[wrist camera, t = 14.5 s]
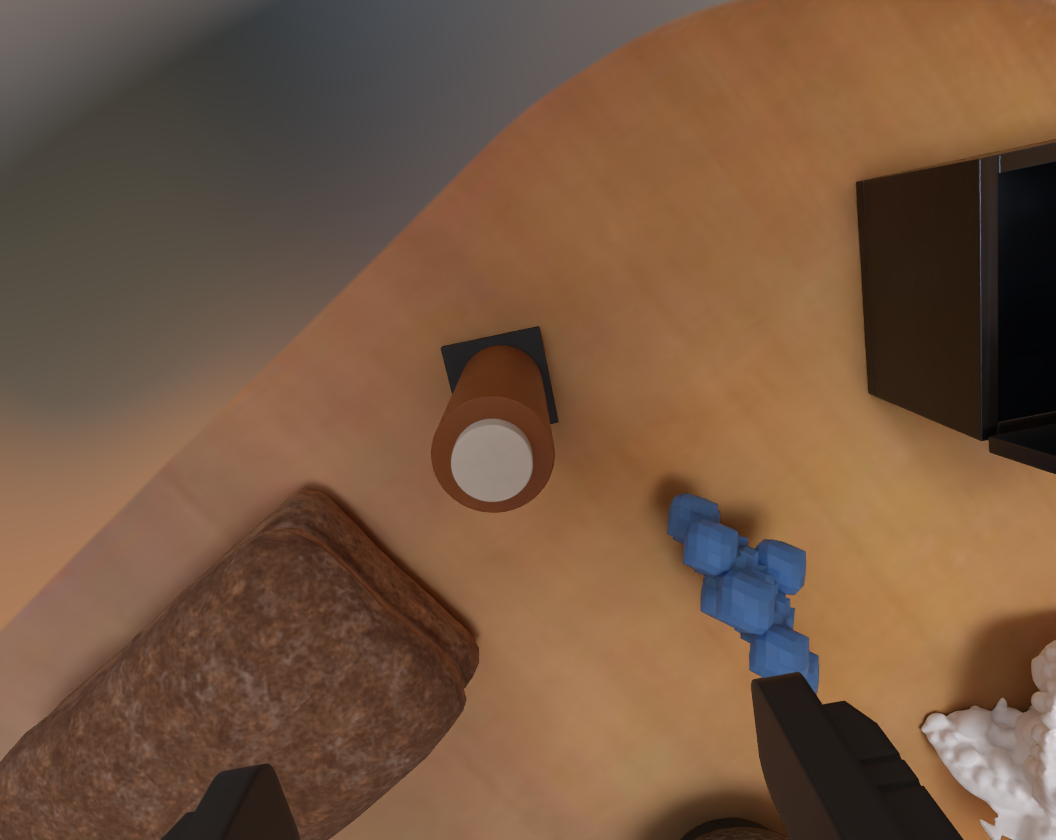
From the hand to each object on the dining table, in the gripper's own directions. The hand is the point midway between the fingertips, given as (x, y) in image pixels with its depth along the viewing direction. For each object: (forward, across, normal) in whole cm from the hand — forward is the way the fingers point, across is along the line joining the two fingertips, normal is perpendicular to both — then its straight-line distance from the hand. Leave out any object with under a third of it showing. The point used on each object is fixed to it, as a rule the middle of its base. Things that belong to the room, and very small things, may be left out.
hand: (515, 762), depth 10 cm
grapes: (+29, -11, +13) cm, 34 cm away
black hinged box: (+29, -27, -1) cm, 40 cm away
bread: (+29, +22, +17) cm, 40 cm away
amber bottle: (+28, +1, 0) cm, 29 cm away
